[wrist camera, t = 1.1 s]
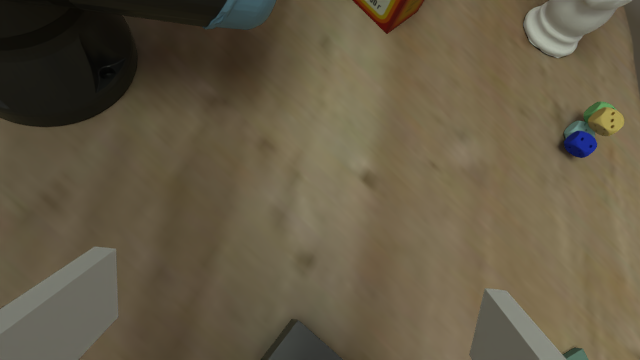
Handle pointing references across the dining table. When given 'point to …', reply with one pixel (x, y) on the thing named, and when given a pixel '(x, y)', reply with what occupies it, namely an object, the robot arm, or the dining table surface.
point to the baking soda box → (389, 11)
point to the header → (299, 345)
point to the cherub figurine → (566, 23)
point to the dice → (592, 128)
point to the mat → (575, 354)
